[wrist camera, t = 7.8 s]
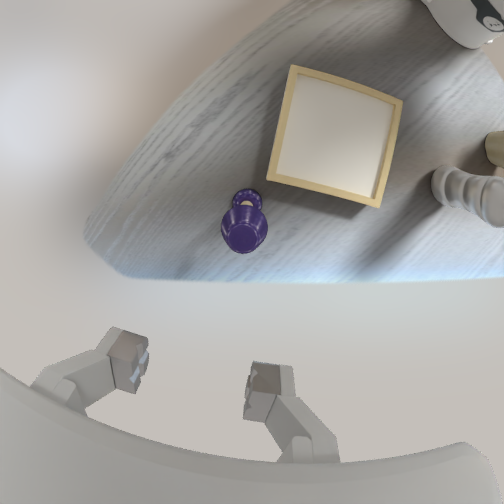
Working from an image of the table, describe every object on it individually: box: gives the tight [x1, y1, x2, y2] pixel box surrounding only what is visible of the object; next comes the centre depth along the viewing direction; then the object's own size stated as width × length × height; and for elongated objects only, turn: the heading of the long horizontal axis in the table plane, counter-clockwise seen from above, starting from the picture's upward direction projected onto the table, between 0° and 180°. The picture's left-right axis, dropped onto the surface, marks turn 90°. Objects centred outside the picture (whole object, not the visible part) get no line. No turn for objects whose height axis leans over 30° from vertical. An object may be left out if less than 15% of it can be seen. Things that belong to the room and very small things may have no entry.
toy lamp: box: [221, 189, 268, 254], centre depth 32 cm, size 5×5×17 cm
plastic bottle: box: [431, 165, 504, 228], centre depth 28 cm, size 6×7×20 cm
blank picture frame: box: [266, 64, 403, 208], centre depth 34 cm, size 16×16×4 cm
